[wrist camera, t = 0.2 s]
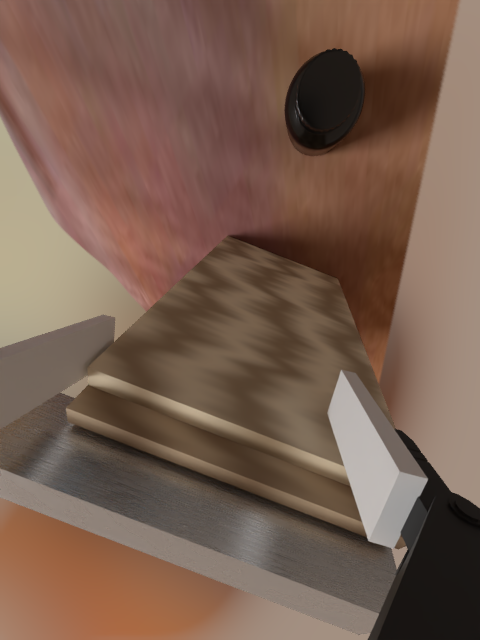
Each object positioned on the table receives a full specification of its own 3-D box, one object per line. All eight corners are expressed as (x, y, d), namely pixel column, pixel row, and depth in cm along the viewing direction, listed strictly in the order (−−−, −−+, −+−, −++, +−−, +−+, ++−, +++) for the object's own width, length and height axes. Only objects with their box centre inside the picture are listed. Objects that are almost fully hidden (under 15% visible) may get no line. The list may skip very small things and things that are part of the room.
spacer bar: (-83, 373, 16) (-183, 427, 13) (-111, 326, 14) (-241, 376, 11) (345, 539, 16) (358, 634, 13) (383, 517, 14) (410, 625, 11)
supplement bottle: (360, 123, 28) (395, 96, 18) (308, 169, 31) (313, 168, 21) (327, 63, 26) (346, -5, 16) (275, 118, 29) (264, 91, 19)
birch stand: (211, 291, 43) (75, 483, 16) (227, 235, 38) (63, 389, 11) (307, 328, 43) (326, 580, 17) (337, 278, 38) (436, 533, 11)
